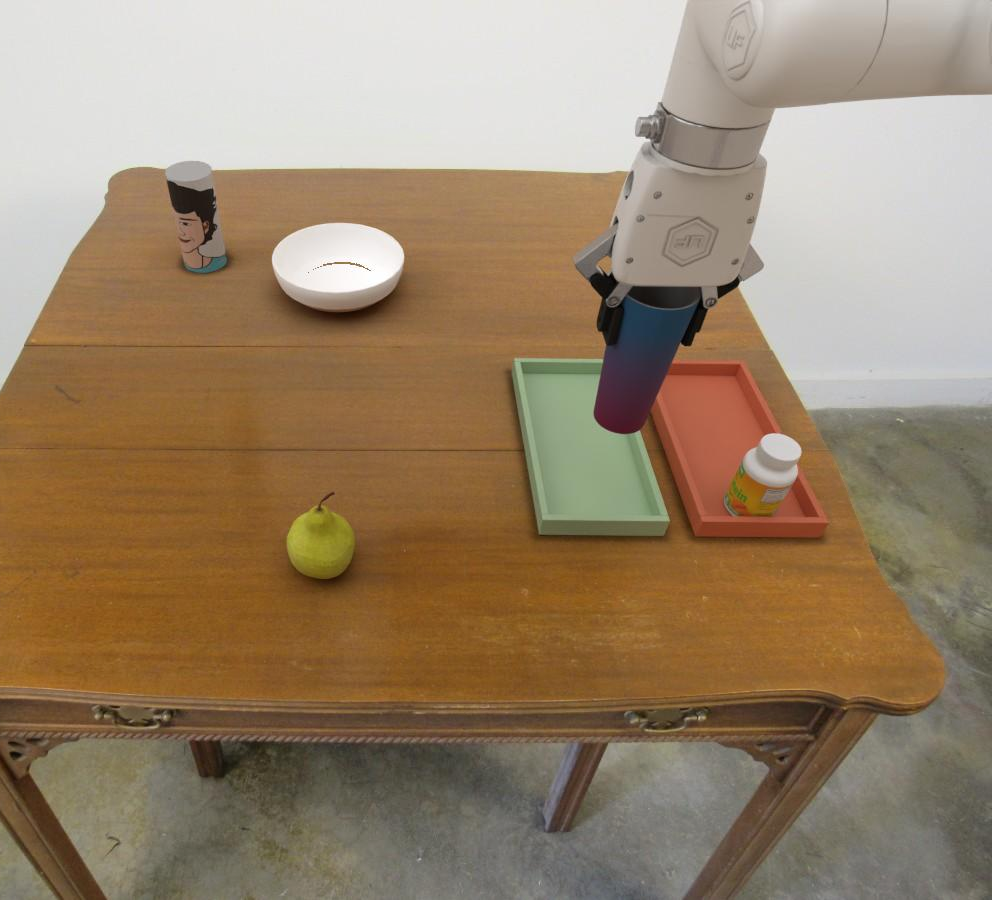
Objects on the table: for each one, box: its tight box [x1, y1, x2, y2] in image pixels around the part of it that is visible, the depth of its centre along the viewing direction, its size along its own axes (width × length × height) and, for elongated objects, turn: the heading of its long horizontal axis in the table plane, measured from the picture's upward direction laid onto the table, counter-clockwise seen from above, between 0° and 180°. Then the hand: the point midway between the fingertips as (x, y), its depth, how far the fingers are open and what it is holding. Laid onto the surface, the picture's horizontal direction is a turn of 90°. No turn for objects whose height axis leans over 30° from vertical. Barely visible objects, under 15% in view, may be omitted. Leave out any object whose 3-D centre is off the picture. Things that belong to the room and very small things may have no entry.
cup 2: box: [593, 286, 701, 434], centre depth 68 cm, size 7×7×15 cm
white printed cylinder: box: [164, 160, 228, 274], centre depth 113 cm, size 7×7×15 cm
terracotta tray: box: [650, 359, 830, 539], centre depth 89 cm, size 28×14×3 cm, turn 0°
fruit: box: [286, 491, 356, 580], centre depth 73 cm, size 7×7×12 cm
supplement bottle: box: [724, 433, 803, 517], centre depth 79 cm, size 5×5×10 cm
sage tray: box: [511, 357, 671, 537], centre depth 89 cm, size 28×14×3 cm, turn 0°
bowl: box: [271, 222, 405, 313], centre depth 111 cm, size 20×20×6 cm
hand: (644, 335), depth 66 cm, fingers closed on cup 2, 6 cm apart
